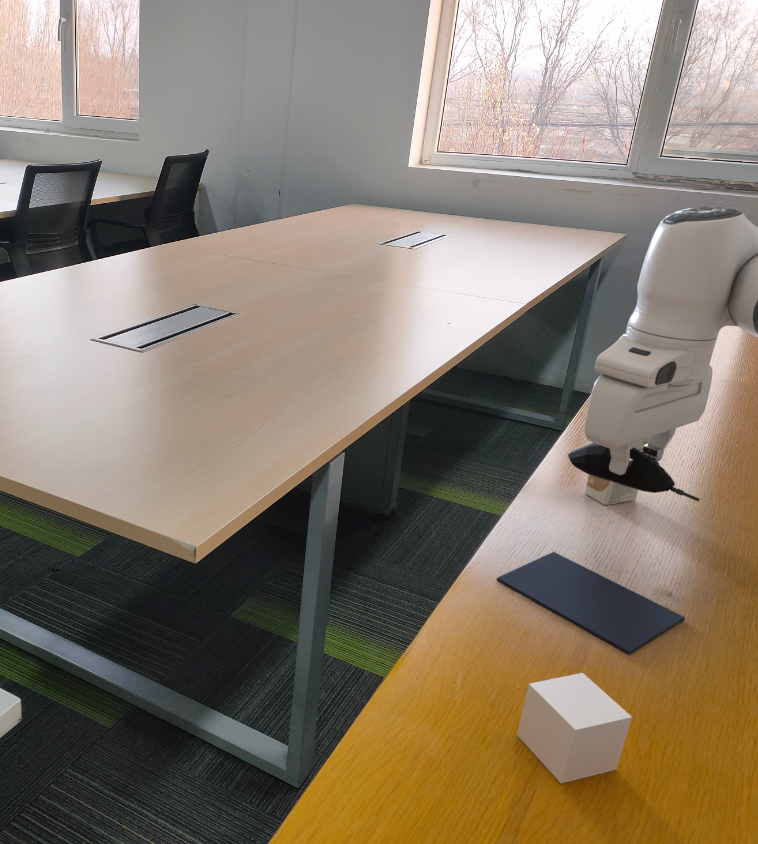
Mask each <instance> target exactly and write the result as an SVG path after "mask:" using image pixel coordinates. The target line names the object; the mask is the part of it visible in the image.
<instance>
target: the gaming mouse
mask: <svg viewBox="0 0 758 844" xmlns="http://www.w3.org/2000/svg"><path fill="white" fill-rule="evenodd" d="M567 456H568V459H569V461H570V463H571V464H572V465H573V467H575V468H576V469H578V470H580V471H581V472H583V473H585V474H587V475H588V476H589V475H592V476H595V477H598V478H601V479H605V480H608V481H611V482H615V483H618V484H621V485H624V486H627V487H630V488H634V489H637V490H638V491H641V492H646V493H654V494H655V493H656V494H657V493H664V492H669V491H671V492H672V493H675V494H676V495H679V496H684V497H687V498H688V499H690V500H693V501H696V502H700V500H701V499H700V497H697V496H694V495H693V494H689V493H687V492H686V491H685V490H682V489H680V488H677V487H675V485H676V482H675V481H674V479H673V478H672V476H671V475H670V473H668V472H667V470H666V469H665V468H664V467H662V466H660V462H659V461H656V460H653V459H652V458H651V457H649V456H648V455H646V454H644V453H643V452H641V451H639V450H638V449H636V448H634V447H633V448H632V449H630V459H632V460H633V462H632V465H631V469H630V471H629V472H628V473H625V474H622V475H618V474H616V473H613V472H611V471H610V470H609V465H610V461H611V453H610V449H609V448H607V447H604V446H601V445H599V444H596V443H593V442H591V443H589V444H587V445H584V446H582V447H579V448H577V449H574V450H573V451H571V452H569V453H567Z"/></svg>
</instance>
